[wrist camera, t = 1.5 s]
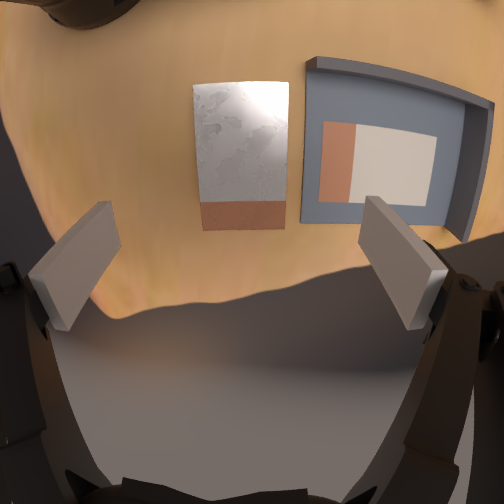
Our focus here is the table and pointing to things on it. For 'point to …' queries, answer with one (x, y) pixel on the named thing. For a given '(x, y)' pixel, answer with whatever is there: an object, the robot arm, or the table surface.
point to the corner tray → (392, 146)
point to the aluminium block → (241, 154)
